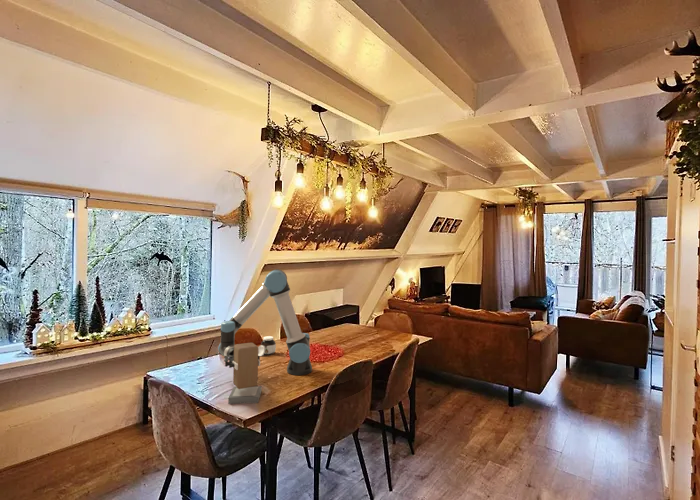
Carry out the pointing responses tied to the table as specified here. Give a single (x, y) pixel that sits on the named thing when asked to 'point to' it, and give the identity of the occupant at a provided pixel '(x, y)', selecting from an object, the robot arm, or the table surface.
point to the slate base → (245, 395)
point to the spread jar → (267, 346)
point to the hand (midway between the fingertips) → (248, 365)
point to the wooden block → (246, 365)
